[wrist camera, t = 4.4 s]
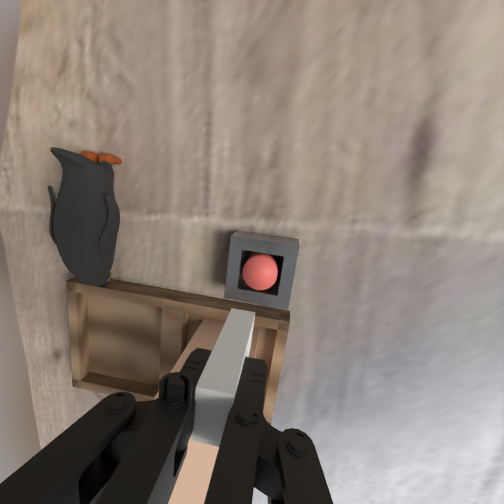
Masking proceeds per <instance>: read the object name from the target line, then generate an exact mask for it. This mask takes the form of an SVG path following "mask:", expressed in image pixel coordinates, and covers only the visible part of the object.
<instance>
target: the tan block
mask: <svg viewBox="0 0 504 504" xmlns="http://www.w3.org/2000/svg"><path fill="white" fill-rule="evenodd" d="M224 324H225V323H222V322H216V321H211V320H206V319H204V320H203V321H202V323H201V324H200V326H199V328H198V329H197V331H196V332H195V334H194V335H193V337H192V339H191V340H190V342H189V343H188V345H187V347H186V348H185V350H184V351H183V353H182V355H181V356H180V358H179V359H178V361H177V362H176V364H175V366H174V367H173V369H172V370H171V372H170V373H173V372H180V370H181V368H182V367H183V365H184V363H185V361H186V360H187V358H188V356H189V354H190V353H191V352H192V351H194V350H195V349H196V348H202V349H207V350H213V348H214V346H215V344H216V341H217V339H218V337H219V335H220V333H221V330H222V328H223V326H224ZM259 331H260V330H259V329H253V333H252V340H251V347H250V352H249V357H251V358H255V357H256V351H257V344H258V337H259ZM157 398H159V391H158V393H157V394H156V396H155V397H154V399H157ZM154 399H153V400H154ZM218 449H219V447H217V446H213V445H209V444H205V443H200V442H196V441H192V434H191V436H190V439H189V442H188V449H187V454H186V457H185V460H184V462H183V465H182V468H181V470H180V473H179V476H178V478H177V481H176V484H175V486H174V489H173V492H172V494H171V497H170V500H169V502H168V504H204V501H205V498H206V494H207V490H208V487H209V483H210V479H211V475H212V472H213V468H214V464H215V461H216V457H217V453H218Z"/></svg>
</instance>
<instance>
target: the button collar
mask: <svg viewBox="0 0 504 504" xmlns="http://www.w3.org/2000/svg"><path fill="white" fill-rule="evenodd" d="M246 250H247V251H253V252H260V253H266V254H272V255H278V256H284V257H283V263H282V269H281V275H280V281H279V285H276V284H273V285H272V286H271V287H270V288H268V289H265V290H256V289H253V288H251V287H250V286H248V285H247V283H246V282H245V280H244V279H242V276H243V268H244V260H245V252H246ZM298 250H299V241H298V240H297V239H291V238H284V237H278V236H271V235H265V234H258V233H252V232H245V231H239V230H237V231H235V232H234V233H233V234H232V235H231V240H230V249H229V258H228V267H227V276H226V285H225V295H224V298H228V299H234V300H240V301H245V302H251V303H256V304H262V305H267V306H273V307H279V308H284V309H288V306H289V300H290V295H291V289H292V284H293V278H294V273H295V267H296V262H297V256H298Z"/></svg>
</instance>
